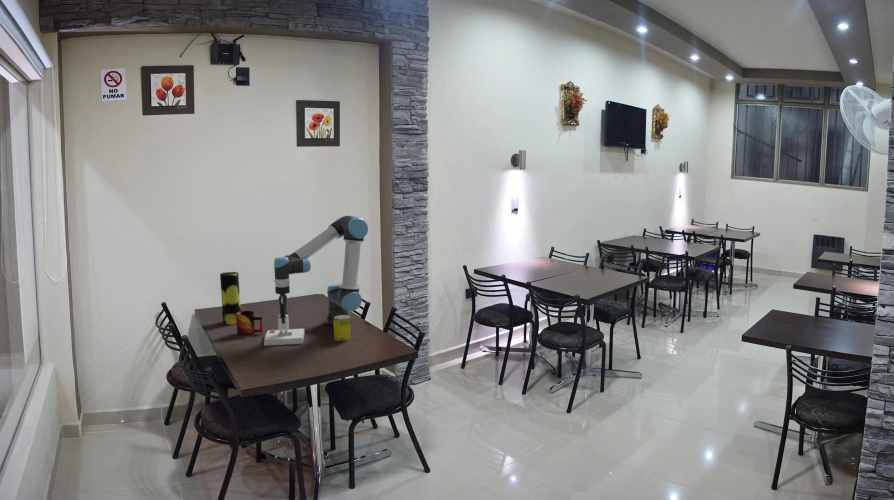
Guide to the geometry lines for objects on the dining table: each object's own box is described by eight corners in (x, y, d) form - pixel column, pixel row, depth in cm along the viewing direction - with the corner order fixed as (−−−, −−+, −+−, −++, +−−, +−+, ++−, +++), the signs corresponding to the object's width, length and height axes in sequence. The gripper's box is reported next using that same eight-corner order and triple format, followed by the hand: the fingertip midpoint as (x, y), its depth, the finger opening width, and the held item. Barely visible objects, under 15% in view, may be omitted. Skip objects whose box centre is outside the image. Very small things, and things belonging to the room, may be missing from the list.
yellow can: (354, 337, 342) (353, 316, 340) (343, 341, 334) (343, 320, 332) (341, 335, 346) (340, 314, 344) (330, 339, 338) (329, 318, 336)
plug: (288, 332, 340) (288, 314, 338) (288, 334, 336) (287, 316, 334) (279, 332, 339) (278, 314, 338) (278, 334, 335) (278, 316, 334)
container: (226, 325, 365) (223, 276, 360) (220, 322, 373) (217, 273, 368) (244, 322, 371) (241, 273, 367) (237, 318, 380) (234, 271, 375)
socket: (304, 333, 349) (304, 327, 348) (302, 343, 331) (302, 336, 331) (267, 335, 345) (267, 329, 345) (264, 345, 328) (263, 339, 327)
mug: (263, 334, 348) (261, 313, 346) (237, 336, 344) (235, 316, 342) (262, 329, 357) (261, 309, 355) (237, 332, 353) (236, 311, 351)
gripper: (276, 282, 341) (278, 323, 345) (273, 289, 324) (275, 332, 328) (290, 282, 342) (292, 323, 346) (288, 289, 326) (290, 331, 330)
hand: (284, 327), depth 337 cm, fingers closed on plug, 4 cm apart
